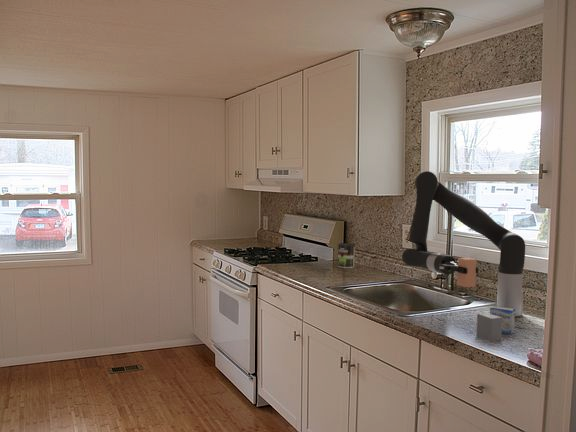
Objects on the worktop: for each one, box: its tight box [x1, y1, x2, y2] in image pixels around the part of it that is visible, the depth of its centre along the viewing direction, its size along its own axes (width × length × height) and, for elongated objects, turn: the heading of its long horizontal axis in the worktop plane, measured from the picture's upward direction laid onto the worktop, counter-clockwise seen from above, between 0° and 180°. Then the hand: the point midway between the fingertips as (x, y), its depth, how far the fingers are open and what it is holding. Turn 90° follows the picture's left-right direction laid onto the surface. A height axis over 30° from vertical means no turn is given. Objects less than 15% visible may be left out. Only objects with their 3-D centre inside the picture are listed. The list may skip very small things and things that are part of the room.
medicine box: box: [489, 305, 516, 335], centre depth 200 cm, size 8×4×9 cm, turn 56°
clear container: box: [337, 242, 356, 269], centre depth 338 cm, size 10×10×14 cm
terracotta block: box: [456, 257, 477, 288], centre depth 202 cm, size 4×4×10 cm
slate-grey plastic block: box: [476, 312, 503, 343], centre depth 191 cm, size 4×7×8 cm, turn 24°
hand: (472, 270), depth 199 cm, fingers closed on terracotta block, 4 cm apart
